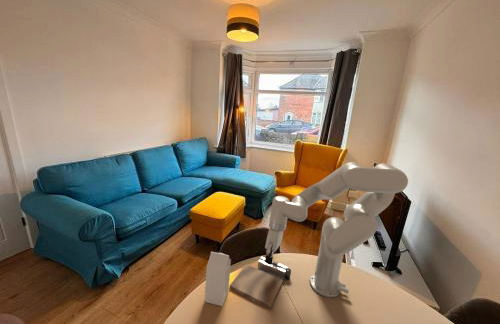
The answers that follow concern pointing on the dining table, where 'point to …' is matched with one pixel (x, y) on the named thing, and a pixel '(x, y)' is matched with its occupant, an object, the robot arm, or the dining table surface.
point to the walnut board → (257, 285)
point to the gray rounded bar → (275, 269)
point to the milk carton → (217, 278)
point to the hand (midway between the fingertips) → (272, 257)
